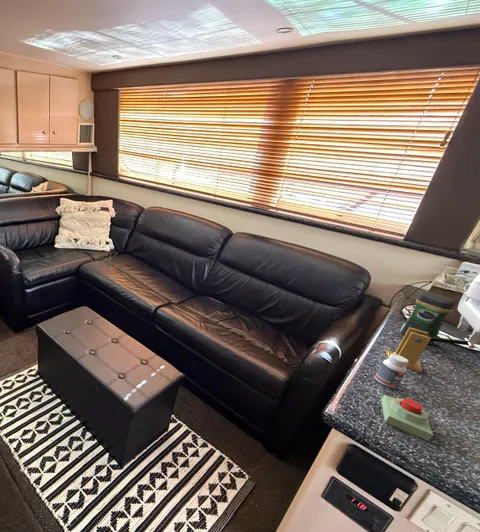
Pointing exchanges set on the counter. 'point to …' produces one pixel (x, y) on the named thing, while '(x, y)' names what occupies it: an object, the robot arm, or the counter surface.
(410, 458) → the counter surface
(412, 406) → the button
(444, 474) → the counter surface
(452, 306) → the coffee jar
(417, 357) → the bracket
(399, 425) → the button box
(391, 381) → the pill bottle
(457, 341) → the lever
